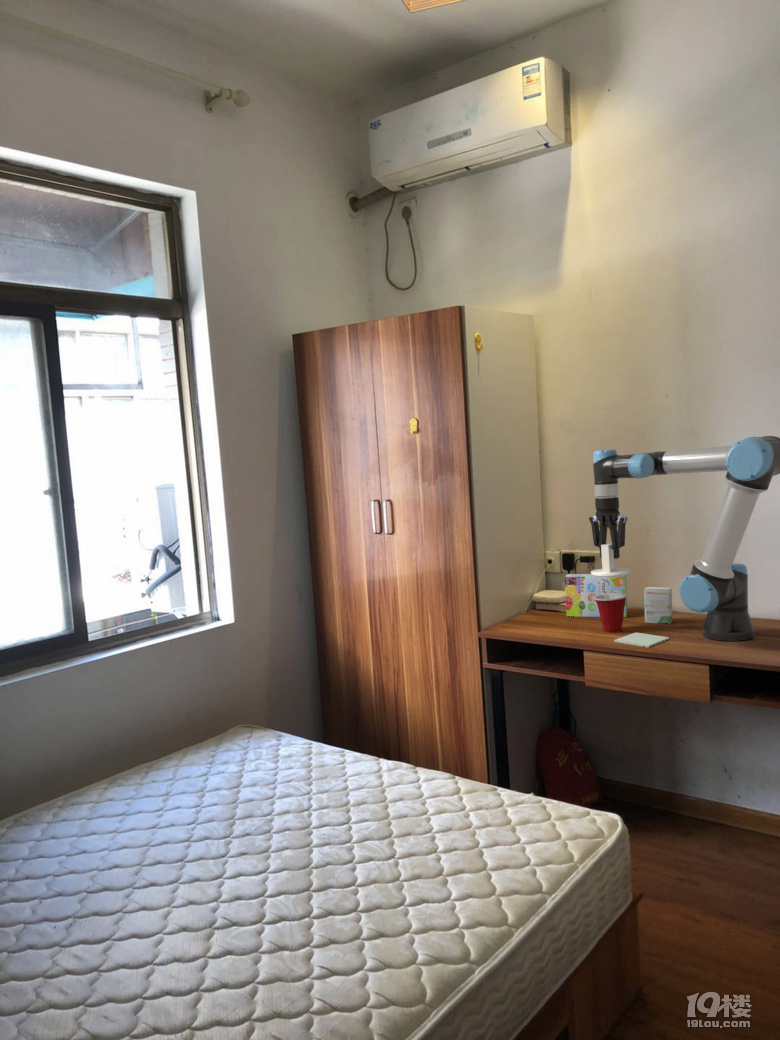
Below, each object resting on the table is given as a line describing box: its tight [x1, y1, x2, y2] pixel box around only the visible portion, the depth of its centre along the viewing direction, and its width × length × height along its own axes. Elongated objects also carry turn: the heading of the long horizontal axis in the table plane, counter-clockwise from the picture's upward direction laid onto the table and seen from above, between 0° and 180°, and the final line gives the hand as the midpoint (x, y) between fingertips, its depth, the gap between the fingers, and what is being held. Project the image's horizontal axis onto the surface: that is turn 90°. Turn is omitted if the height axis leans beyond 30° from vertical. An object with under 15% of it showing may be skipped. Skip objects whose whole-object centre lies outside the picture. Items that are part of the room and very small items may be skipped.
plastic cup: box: [594, 593, 628, 633], centre depth 270 cm, size 11×11×12 cm
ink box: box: [643, 586, 673, 625], centre depth 278 cm, size 9×5×12 cm, turn 63°
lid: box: [590, 542, 631, 577], centre depth 268 cm, size 13×13×10 cm
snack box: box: [564, 573, 629, 618], centre depth 293 cm, size 21×6×15 cm, turn 69°
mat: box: [613, 632, 670, 648], centre depth 255 cm, size 12×12×1 cm
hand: (610, 567), depth 268 cm, fingers closed on lid, 3 cm apart
